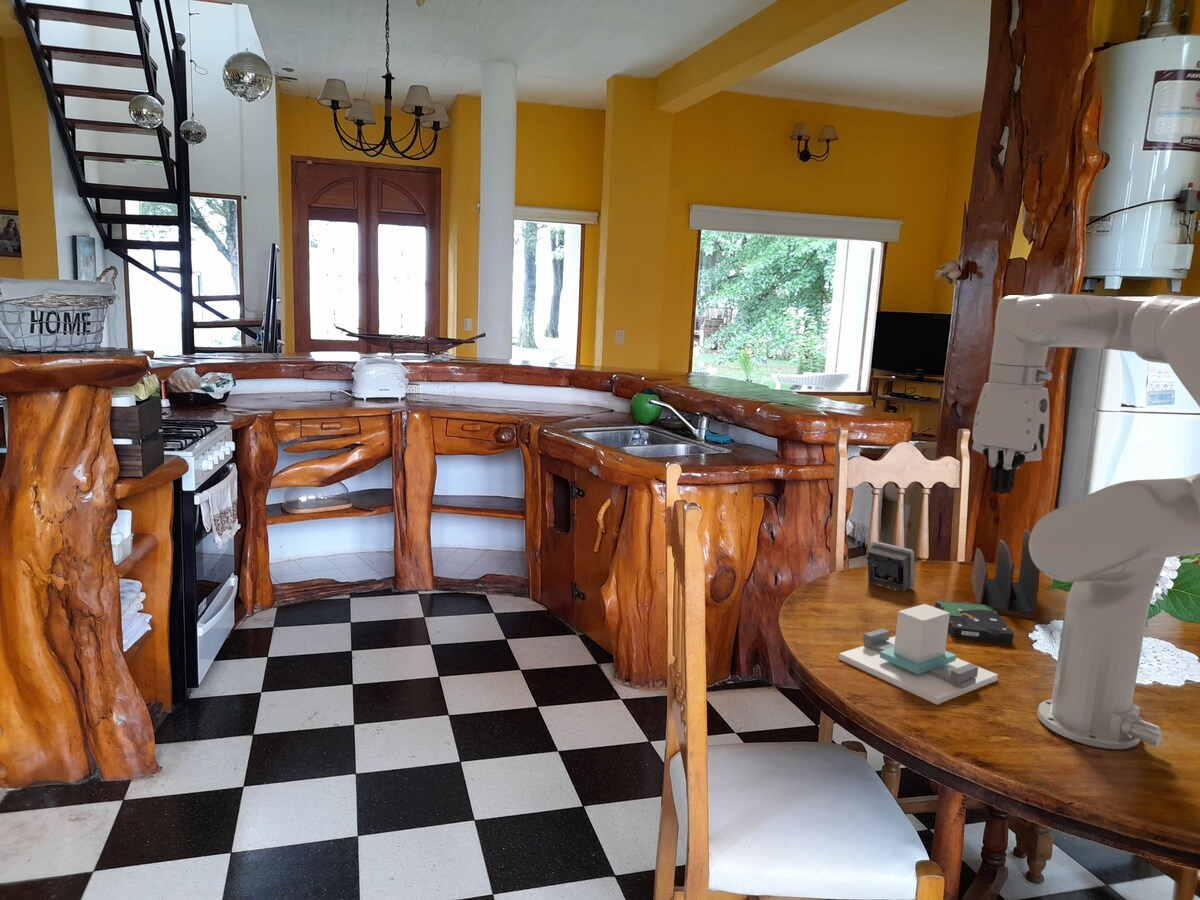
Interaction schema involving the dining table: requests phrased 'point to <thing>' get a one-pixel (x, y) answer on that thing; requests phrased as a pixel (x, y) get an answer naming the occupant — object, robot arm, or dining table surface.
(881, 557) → the electrical switch
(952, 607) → the disk drive
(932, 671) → the rail panel
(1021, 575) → the letter holder
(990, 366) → the robot arm
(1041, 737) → the dining table surface
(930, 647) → the block
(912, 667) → the plate
